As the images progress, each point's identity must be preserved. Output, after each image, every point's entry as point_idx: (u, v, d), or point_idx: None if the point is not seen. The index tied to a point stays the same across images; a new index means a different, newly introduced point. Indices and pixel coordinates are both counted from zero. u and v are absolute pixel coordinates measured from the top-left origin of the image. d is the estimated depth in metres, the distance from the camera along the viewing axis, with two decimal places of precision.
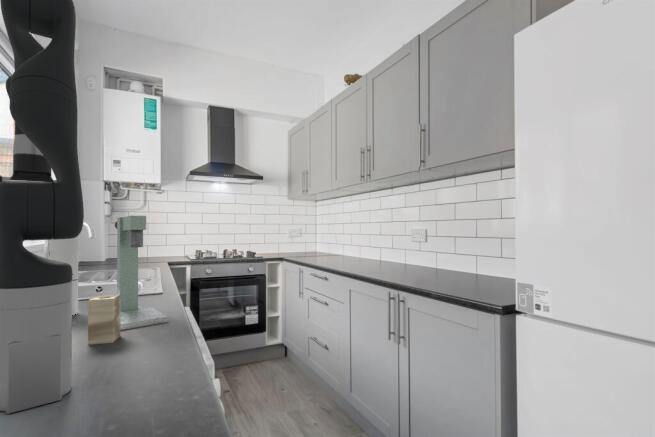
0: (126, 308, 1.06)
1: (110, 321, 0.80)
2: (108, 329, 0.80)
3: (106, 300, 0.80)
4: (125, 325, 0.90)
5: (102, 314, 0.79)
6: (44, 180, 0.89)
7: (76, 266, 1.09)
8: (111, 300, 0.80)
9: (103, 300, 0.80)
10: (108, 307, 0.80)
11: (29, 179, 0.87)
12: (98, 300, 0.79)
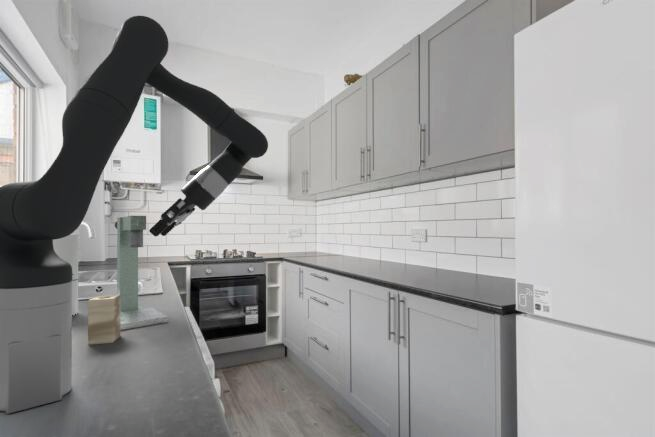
0: (126, 308, 1.06)
1: (110, 321, 0.80)
2: (108, 329, 0.80)
3: (106, 300, 0.80)
4: (125, 325, 0.90)
5: (102, 314, 0.79)
6: None
7: (76, 266, 1.09)
8: (111, 300, 0.80)
9: (103, 300, 0.80)
10: (108, 307, 0.80)
11: None
12: (98, 300, 0.79)
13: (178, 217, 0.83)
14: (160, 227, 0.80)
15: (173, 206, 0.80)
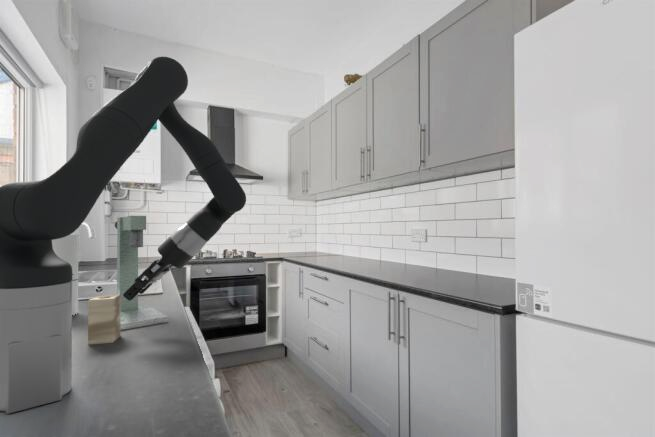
0: (126, 308, 1.06)
1: (110, 321, 0.80)
2: (108, 329, 0.80)
3: (106, 300, 0.80)
4: (125, 325, 0.90)
5: (102, 314, 0.79)
6: None
7: (76, 266, 1.09)
8: (111, 300, 0.80)
9: (103, 300, 0.80)
10: (108, 307, 0.80)
11: None
12: (98, 300, 0.79)
13: (153, 279, 0.81)
14: (134, 291, 0.79)
15: (147, 270, 0.78)
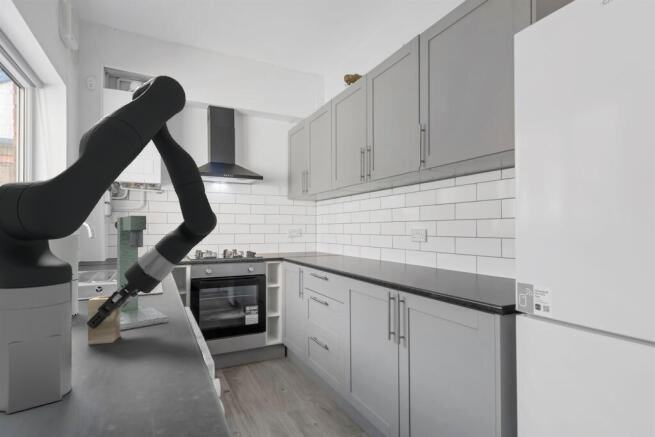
0: (126, 308, 1.06)
1: (110, 320, 0.80)
2: (108, 329, 0.80)
3: None
4: (125, 325, 0.90)
5: None
6: None
7: (76, 266, 1.09)
8: None
9: (103, 300, 0.80)
10: (108, 307, 0.80)
11: None
12: (98, 300, 0.79)
13: (118, 307, 0.80)
14: (98, 320, 0.78)
15: (108, 301, 0.76)
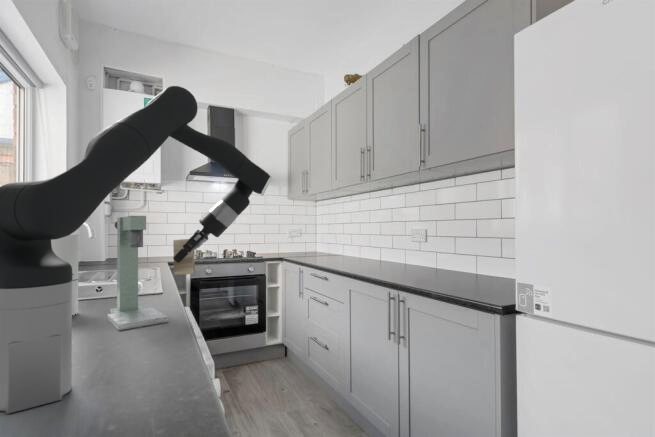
0: (126, 308, 1.06)
1: (190, 257, 1.01)
2: (188, 264, 1.01)
3: (187, 240, 1.01)
4: (125, 325, 0.90)
5: None
6: None
7: (76, 266, 1.09)
8: None
9: (184, 240, 1.01)
10: None
11: None
12: (181, 240, 1.01)
13: (196, 246, 1.01)
14: (182, 255, 0.99)
15: (191, 239, 0.98)
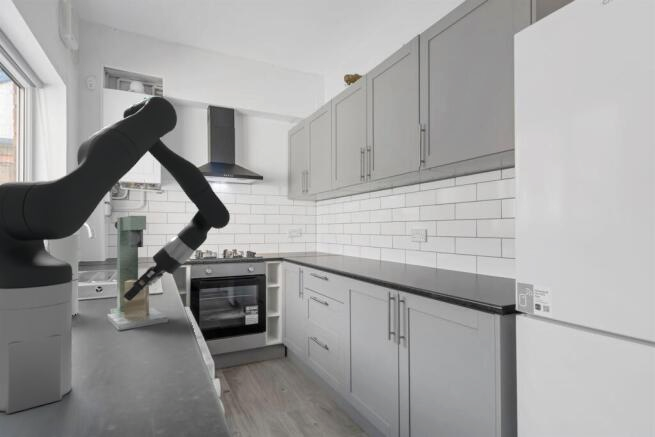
0: None
1: (142, 299, 0.98)
2: (140, 306, 0.97)
3: None
4: (125, 325, 0.90)
5: None
6: None
7: (76, 266, 1.09)
8: None
9: None
10: None
11: None
12: (132, 282, 0.97)
13: (149, 283, 0.97)
14: (133, 293, 0.95)
15: (144, 276, 0.94)
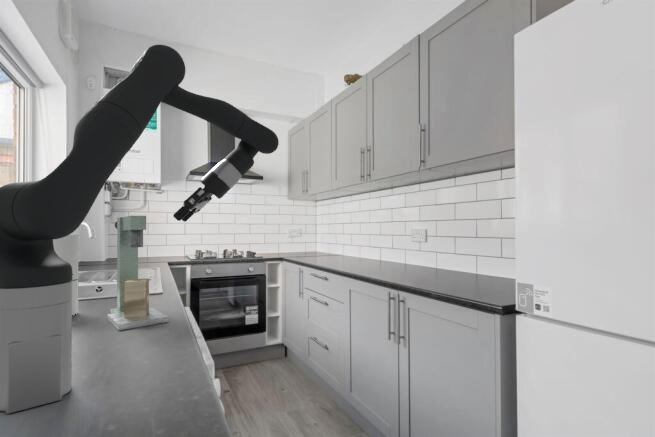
0: None
1: (142, 299, 0.98)
2: (140, 306, 0.97)
3: (139, 282, 0.98)
4: (125, 325, 0.90)
5: (136, 293, 0.97)
6: None
7: (76, 266, 1.09)
8: (143, 282, 0.98)
9: (136, 282, 0.97)
10: (140, 288, 0.98)
11: None
12: (132, 282, 0.97)
13: (198, 204, 0.94)
14: (183, 212, 0.92)
15: (194, 194, 0.91)
